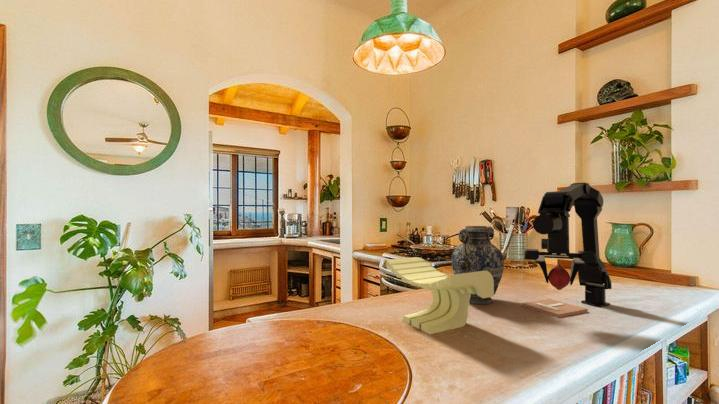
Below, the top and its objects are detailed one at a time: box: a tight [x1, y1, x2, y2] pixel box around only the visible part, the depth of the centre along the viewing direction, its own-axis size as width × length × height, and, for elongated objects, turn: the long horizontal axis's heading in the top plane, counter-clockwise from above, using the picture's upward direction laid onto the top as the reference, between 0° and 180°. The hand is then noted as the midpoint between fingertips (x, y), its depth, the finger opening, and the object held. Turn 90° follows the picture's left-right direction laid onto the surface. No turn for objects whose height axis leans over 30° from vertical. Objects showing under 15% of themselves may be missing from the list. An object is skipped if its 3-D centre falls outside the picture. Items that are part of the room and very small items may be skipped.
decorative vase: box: [451, 225, 505, 305], centre depth 128 cm, size 21×19×28 cm
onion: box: [548, 263, 570, 291], centre depth 104 cm, size 6×6×8 cm
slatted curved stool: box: [386, 256, 495, 335], centre depth 104 cm, size 30×16×18 cm, turn 29°
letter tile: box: [521, 298, 588, 318], centre depth 117 cm, size 14×14×1 cm
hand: (559, 283), depth 104 cm, fingers closed on onion, 6 cm apart
